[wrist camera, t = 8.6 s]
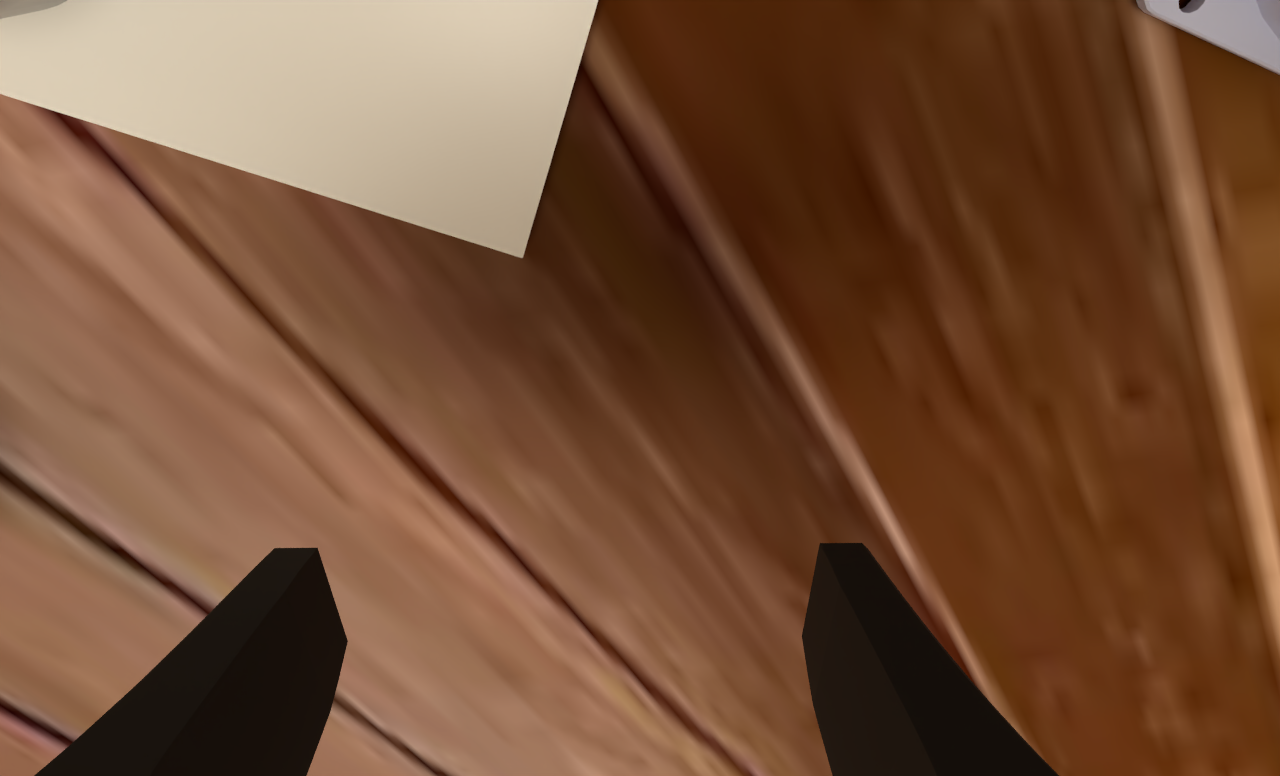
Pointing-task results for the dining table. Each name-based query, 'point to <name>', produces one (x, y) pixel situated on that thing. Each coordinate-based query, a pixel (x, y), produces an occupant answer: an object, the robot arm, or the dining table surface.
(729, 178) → the dining table surface
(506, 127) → the stub board
